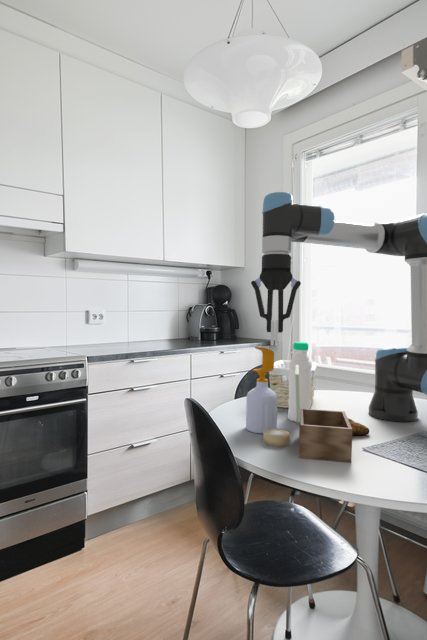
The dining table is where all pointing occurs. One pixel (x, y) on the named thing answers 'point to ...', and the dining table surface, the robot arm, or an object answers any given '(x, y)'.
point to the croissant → (358, 428)
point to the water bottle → (304, 379)
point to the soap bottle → (262, 398)
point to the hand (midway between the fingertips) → (274, 344)
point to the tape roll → (276, 437)
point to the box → (325, 435)
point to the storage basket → (286, 381)
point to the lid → (297, 396)
